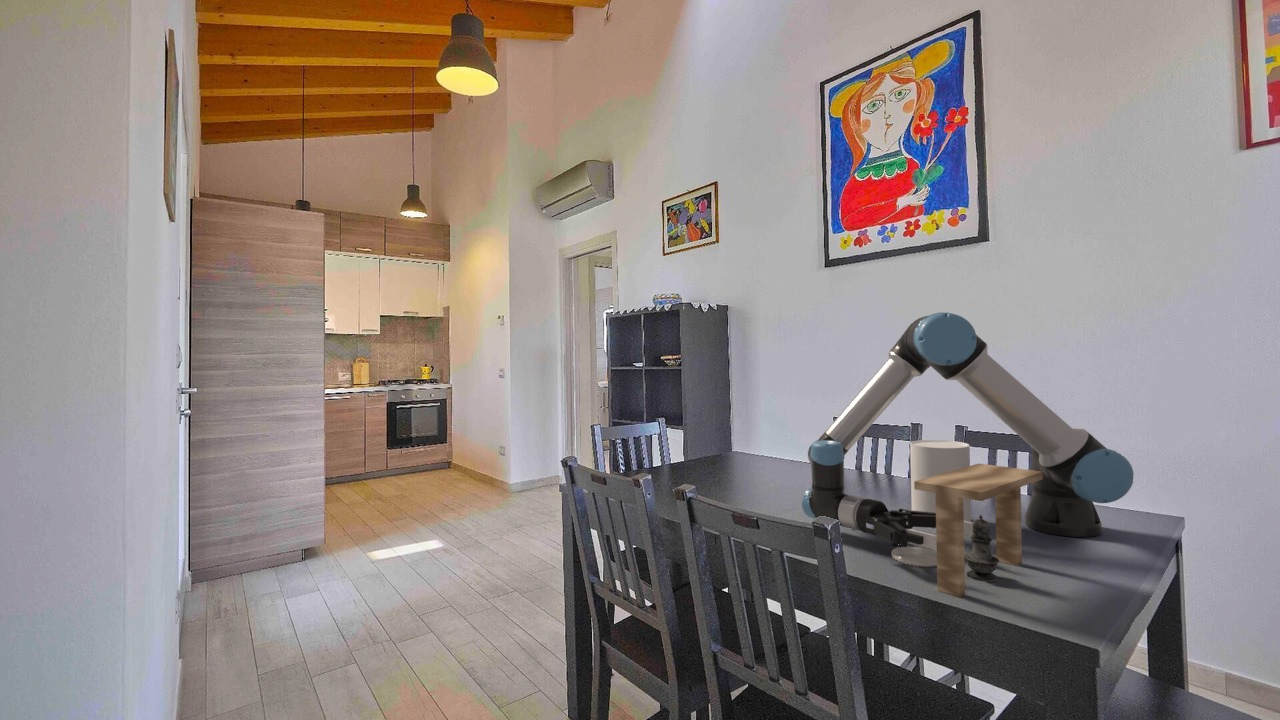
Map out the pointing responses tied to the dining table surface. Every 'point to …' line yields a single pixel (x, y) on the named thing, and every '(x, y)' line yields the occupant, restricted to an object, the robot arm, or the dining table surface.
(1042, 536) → the dining table surface
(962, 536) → the wooden stool
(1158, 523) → the dining table surface
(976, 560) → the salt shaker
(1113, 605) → the dining table surface
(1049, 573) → the dining table surface
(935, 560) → the coaster
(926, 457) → the canister
